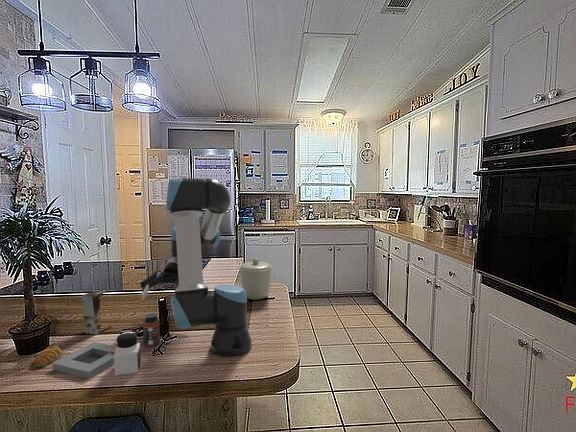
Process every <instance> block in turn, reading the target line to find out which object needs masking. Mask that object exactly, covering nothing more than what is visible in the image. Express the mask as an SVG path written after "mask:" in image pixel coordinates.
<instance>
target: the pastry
mask: <svg viewBox="0 0 576 432" xmlns="http://www.w3.org/2000/svg"><path fill="white" fill-rule="evenodd" d="M62 354H63V351H62V350H61V349H60V348H59V346H57V345H51V346H47V347H46V348H45V349H43V350H42V351H40V352H39V353H38V355H37V356H36V357H35V359H34V362H33V366H34V368H39V367H40V368H41V367H46V366H48V365H50V364H51V363H52V364H53V363H54V362H56V361H57V360H59V358H60V357H61V356H62Z"/></svg>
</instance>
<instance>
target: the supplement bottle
mask: <svg viewBox="0 0 576 432" xmlns="http://www.w3.org/2000/svg"><path fill="white" fill-rule="evenodd" d="M144 317H145V320H144V321H143V323H142V332H143V333H142V336H143V346H144V347H147V348H148V347H149V348H150V347H151V348H152V347H153V348H154V347H156V346H158V345H159V344H160V343H161V332H160V329H161V328H160V326H161V325H160V320H159V319H158V317H157V314H156V313H149V314H146V315H145V316H144Z"/></svg>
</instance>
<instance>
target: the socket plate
mask: <svg viewBox="0 0 576 432" xmlns="http://www.w3.org/2000/svg"><path fill="white" fill-rule="evenodd" d="M116 349H117V346H116V345H112V344H106V343H105V344H104V343H102V342H101V343H100V342H95V341H93V342H91V343H89V344H87V345H85V346H84V347H81V348H79V349H77V350H75V351H74V352H72V353H70V354H68V355H65V356H63V357H62V358H60V359H57V360H55V361H54V362H52V370H53V371H55V372H60V373H63V374H67V375H72V376H76V377H79V378H83V379H88V380H90V379H92V378H94V377H95V376H97V375H99V374H100V373H102V372H103V371H105V370H106V369H108V368H110V367H111V366H114V354H115V352H116Z"/></svg>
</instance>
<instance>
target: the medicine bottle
mask: <svg viewBox="0 0 576 432" xmlns="http://www.w3.org/2000/svg"><path fill="white" fill-rule="evenodd" d="M116 345H117V346H116V347H117V349H116V352H115V354H114V364H113V366H114V376H116V377H117V376H123V375H131V374H137V373H139V371H140V368H141V363H142V355H141V354H142V353H141V343H140V342H138V335H137V333H136V332H133V331H126V332H123V333H121V334H119V335H118V336H117V337H116Z"/></svg>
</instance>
